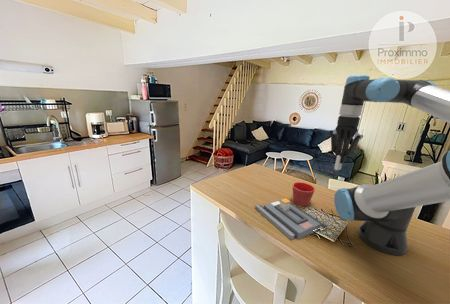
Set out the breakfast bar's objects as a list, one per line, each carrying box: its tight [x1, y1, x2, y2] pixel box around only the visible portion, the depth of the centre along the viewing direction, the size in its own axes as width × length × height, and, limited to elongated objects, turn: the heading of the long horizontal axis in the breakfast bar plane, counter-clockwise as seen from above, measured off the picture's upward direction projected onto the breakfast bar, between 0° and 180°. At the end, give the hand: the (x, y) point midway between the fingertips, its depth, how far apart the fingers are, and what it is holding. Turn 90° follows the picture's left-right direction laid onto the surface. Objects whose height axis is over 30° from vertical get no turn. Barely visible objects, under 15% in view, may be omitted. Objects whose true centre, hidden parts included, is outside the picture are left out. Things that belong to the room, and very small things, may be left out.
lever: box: [279, 197, 291, 211], centre depth 88 cm, size 3×3×5 cm
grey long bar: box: [254, 204, 297, 240], centre depth 84 cm, size 24×3×2 cm, turn 28°
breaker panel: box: [263, 199, 321, 240], centre depth 86 cm, size 22×13×4 cm, turn 28°
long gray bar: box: [290, 201, 327, 229], centre depth 90 cm, size 24×3×2 cm, turn 27°
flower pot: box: [292, 181, 315, 207], centre depth 99 cm, size 11×11×10 cm
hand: (337, 169), depth 83 cm, fingers closed
